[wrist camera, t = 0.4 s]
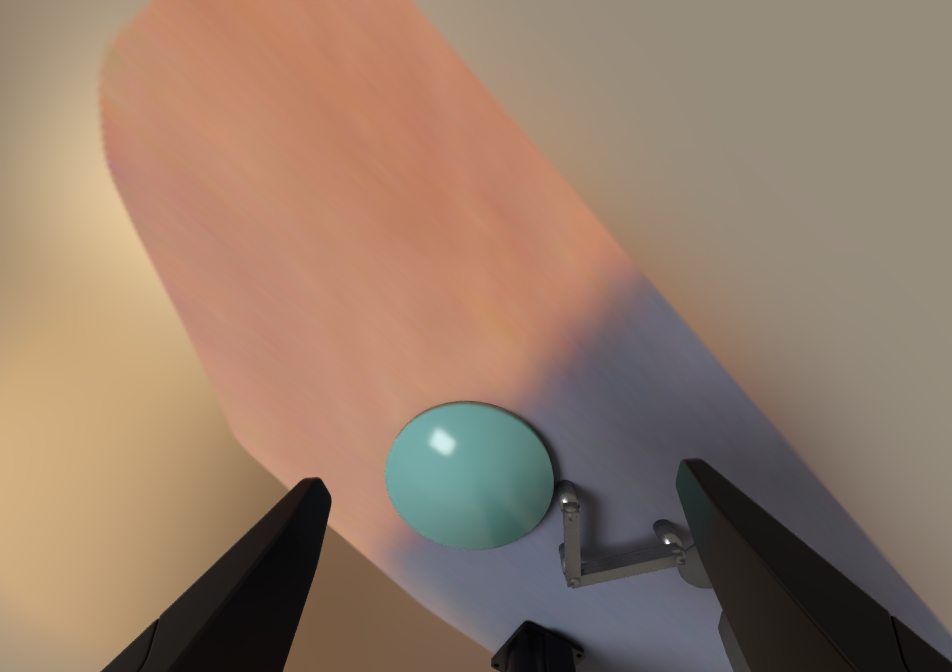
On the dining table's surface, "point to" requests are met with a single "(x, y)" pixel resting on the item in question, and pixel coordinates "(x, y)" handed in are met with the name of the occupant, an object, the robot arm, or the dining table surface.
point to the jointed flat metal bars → (614, 566)
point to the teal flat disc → (469, 475)
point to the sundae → (698, 577)
